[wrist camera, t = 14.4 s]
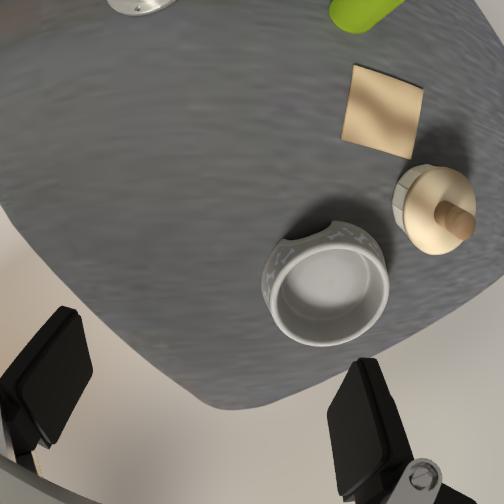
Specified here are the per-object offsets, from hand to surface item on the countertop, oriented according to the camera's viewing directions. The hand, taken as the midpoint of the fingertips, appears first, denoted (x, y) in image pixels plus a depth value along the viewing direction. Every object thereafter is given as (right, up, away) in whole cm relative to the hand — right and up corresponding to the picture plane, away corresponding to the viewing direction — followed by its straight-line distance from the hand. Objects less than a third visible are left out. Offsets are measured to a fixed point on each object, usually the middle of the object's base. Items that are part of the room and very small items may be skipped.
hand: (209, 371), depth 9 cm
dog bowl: (+12, 0, +33) cm, 35 cm away
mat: (+18, +21, +23) cm, 36 cm away
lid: (+25, +9, +23) cm, 35 cm away
